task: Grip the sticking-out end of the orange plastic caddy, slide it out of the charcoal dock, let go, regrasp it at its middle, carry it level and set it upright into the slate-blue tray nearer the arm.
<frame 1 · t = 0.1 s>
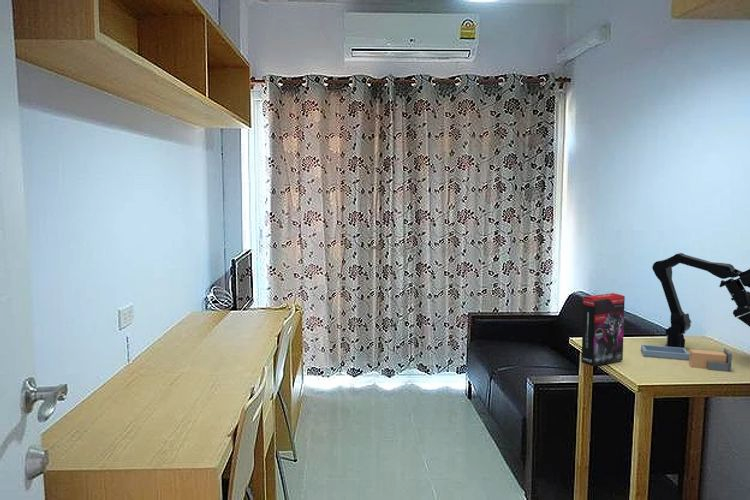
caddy: (706, 367, 239), on the table
dock: (716, 367, 238), on the table
tray: (664, 355, 254), on the table
graphics card box: (601, 362, 244), on the table
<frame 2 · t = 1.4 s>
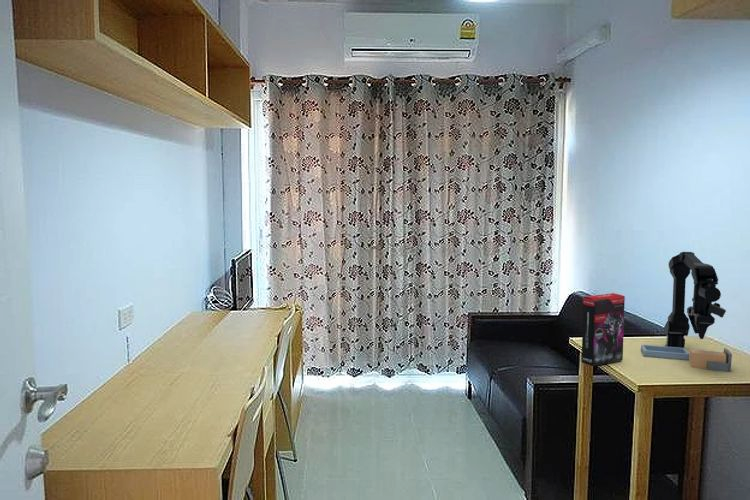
hand: (698, 336, 238), 12 cm above the table, tool pointing down, fingers open, 9 cm apart
nothing on the table moved.
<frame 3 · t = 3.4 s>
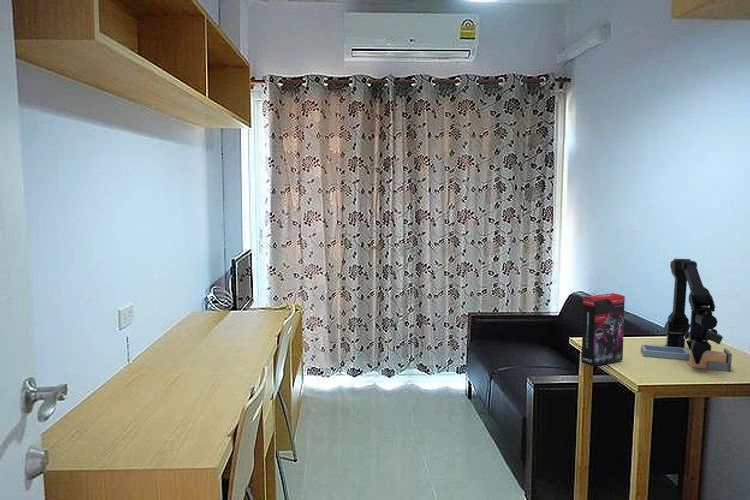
hand: (695, 361, 240), 2 cm above the table, tool pointing down, fingers closed on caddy, 5 cm apart
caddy: (706, 366, 239), on the table, touching gripper
everything else where it was.
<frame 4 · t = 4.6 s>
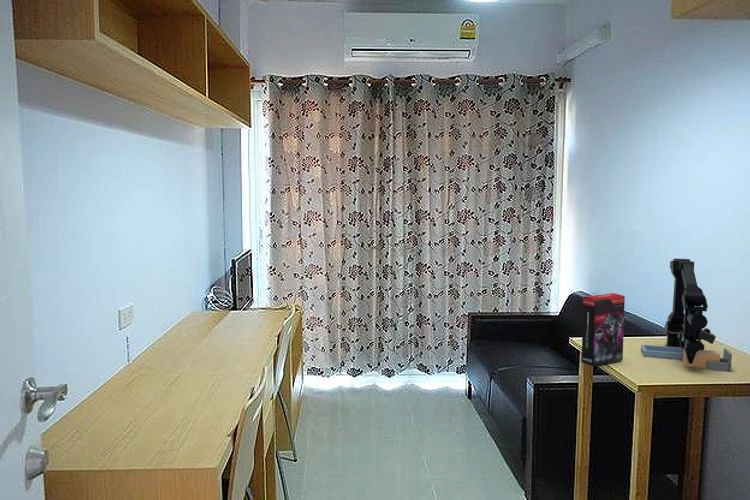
hand: (689, 361, 240), 1 cm above the table, tool pointing down, fingers closed on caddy, 5 cm apart
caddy: (700, 366, 239), on the table, touching gripper
everything else where it was.
when the fingers open (1 cm above the table, at t = 6.1 s): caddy stays where it is, on the table.
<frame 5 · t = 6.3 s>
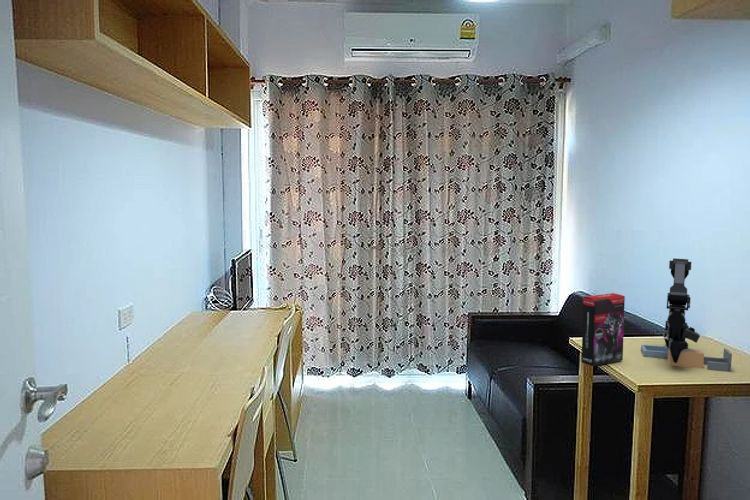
hand: (673, 360, 242), 1 cm above the table, tool pointing down, fingers open, 7 cm apart
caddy: (684, 365, 241), on the table
everything else where it was.
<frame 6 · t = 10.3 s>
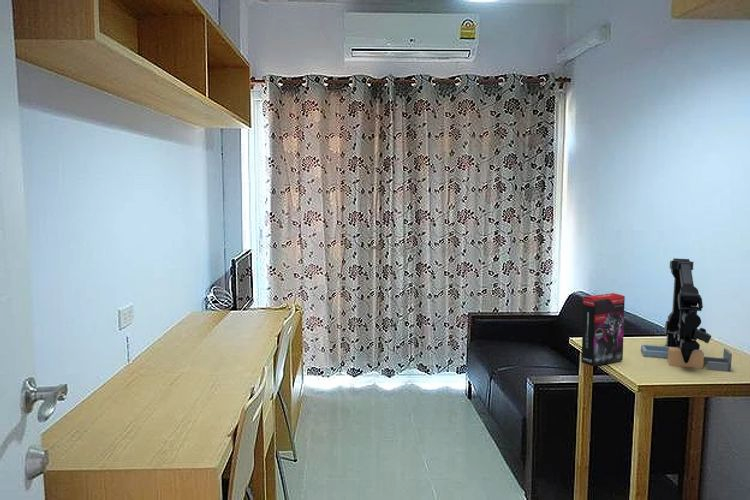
hand: (684, 361, 241), 2 cm above the table, tool pointing down, fingers closed on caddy, 5 cm apart
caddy: (684, 364, 241), on the table, touching gripper
everything else where it was.
when the fingers open (3 cm above the table, at t = 16.5 s): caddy drops 1 cm, resting on tray.
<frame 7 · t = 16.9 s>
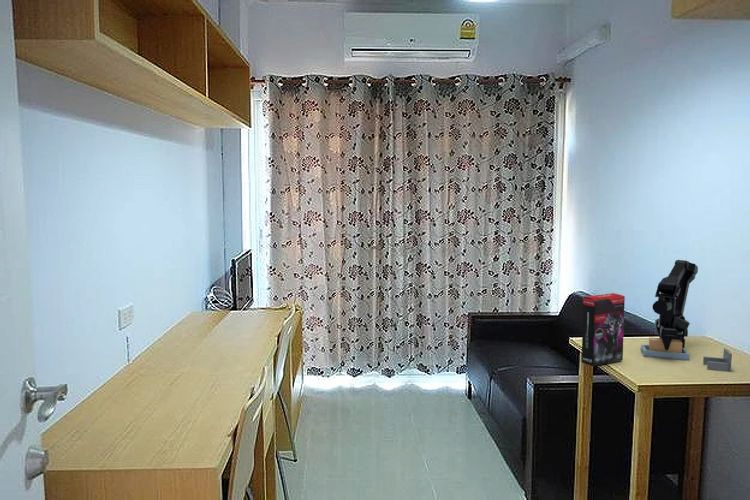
hand: (664, 347, 254), 3 cm above the table, tool pointing down, fingers open, 9 cm apart
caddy: (664, 353, 254), resting on tray
everything else where it was.
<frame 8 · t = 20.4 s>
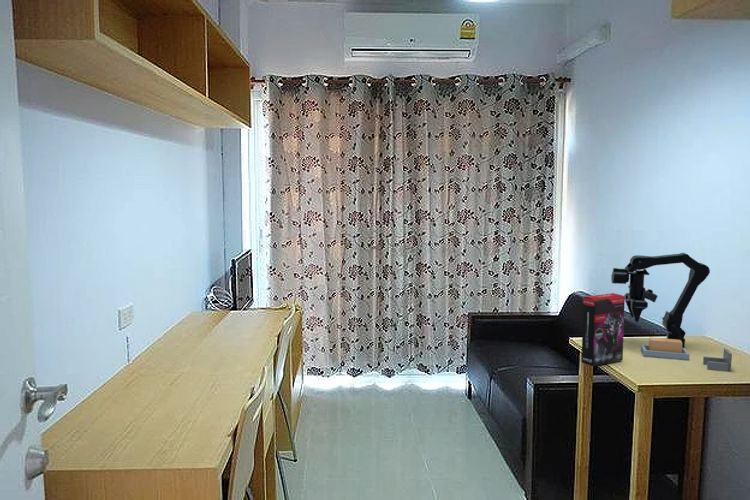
hand: (634, 319, 267), 12 cm above the table, tool pointing down, fingers open, 9 cm apart
nothing on the table moved.
at the end: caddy 0.1 cm off-centre on the tray, point 0.5 cm above the tray's base; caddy tilted 0°; the gripper is holding nothing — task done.
